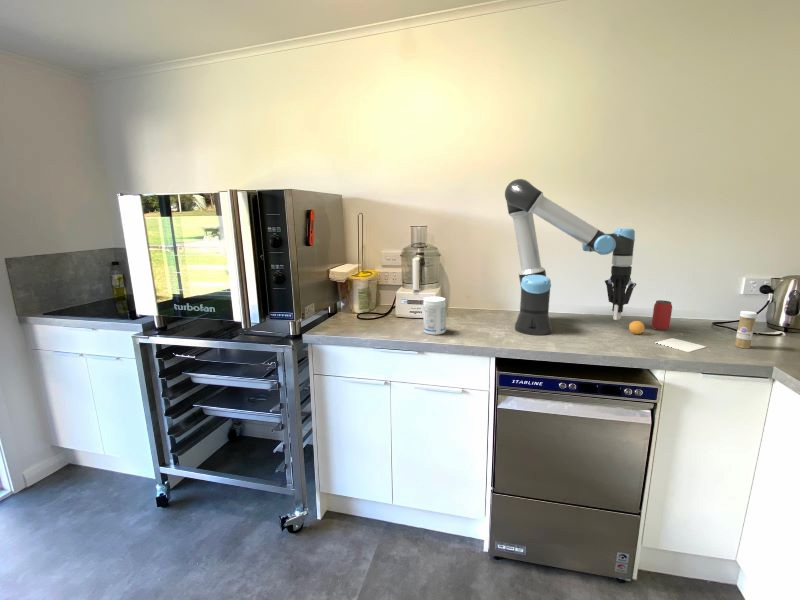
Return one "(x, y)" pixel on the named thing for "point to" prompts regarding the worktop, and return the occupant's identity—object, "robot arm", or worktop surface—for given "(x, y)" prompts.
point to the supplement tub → (434, 315)
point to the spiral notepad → (681, 345)
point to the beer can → (662, 315)
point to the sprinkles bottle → (745, 329)
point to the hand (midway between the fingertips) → (616, 319)
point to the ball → (636, 327)
